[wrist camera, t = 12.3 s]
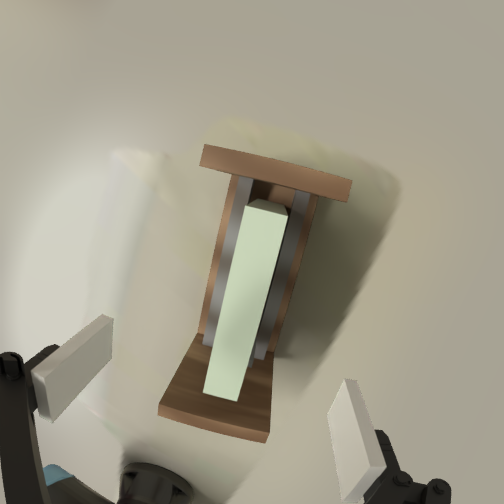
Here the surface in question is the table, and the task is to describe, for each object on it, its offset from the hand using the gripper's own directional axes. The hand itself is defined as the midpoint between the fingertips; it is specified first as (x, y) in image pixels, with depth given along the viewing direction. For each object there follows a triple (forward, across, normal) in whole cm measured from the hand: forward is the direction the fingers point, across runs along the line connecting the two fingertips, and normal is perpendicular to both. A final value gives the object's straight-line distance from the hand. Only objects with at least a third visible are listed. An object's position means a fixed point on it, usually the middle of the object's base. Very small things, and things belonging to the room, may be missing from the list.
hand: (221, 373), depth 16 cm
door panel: (+22, 0, 0) cm, 22 cm away
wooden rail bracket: (+22, 0, 0) cm, 23 cm away
